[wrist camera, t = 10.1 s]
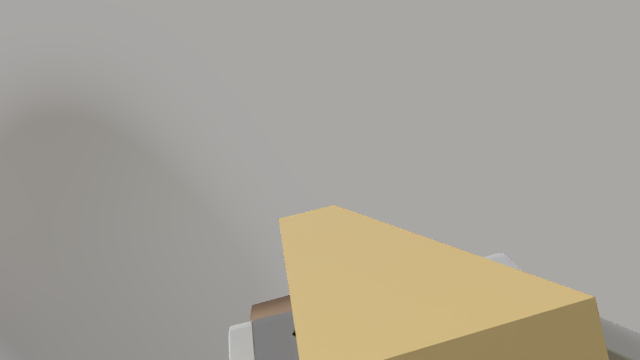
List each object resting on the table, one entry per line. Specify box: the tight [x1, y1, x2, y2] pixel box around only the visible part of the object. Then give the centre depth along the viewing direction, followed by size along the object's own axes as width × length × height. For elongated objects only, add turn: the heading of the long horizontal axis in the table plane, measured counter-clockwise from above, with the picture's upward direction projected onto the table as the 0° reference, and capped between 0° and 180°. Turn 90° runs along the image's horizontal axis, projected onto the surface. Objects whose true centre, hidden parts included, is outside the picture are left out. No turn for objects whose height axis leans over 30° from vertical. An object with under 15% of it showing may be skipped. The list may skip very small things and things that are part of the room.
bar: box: [279, 205, 609, 360], centre depth 14 cm, size 20×4×4 cm, turn 7°
